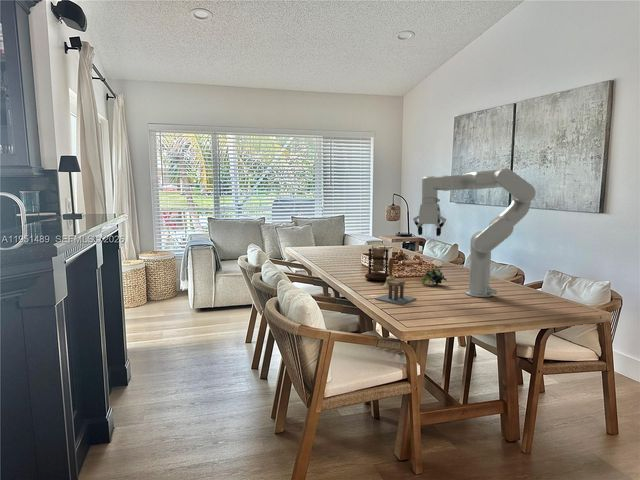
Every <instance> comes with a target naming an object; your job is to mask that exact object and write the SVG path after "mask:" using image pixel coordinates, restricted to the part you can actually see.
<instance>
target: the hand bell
mask: <svg viewBox="0 0 640 480" xmlns="http://www.w3.org/2000/svg"><path fill="white" fill-rule="evenodd" d="M393 268H394V260H393V257H389V258H388V269H389V271H388V274H389V277H387V278H386V281H385V283H384V284H383V285H382V289H385V290H389V285H388V282H389V281H393V280H396V277H394V276H393ZM394 287H395V286H392V289H393V290H394Z"/></svg>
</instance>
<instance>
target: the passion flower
mask: <svg viewBox="0 0 640 480" xmlns="http://www.w3.org/2000/svg"><path fill="white" fill-rule="evenodd" d="M443 280H444V281H447V280H448V279H447V278H446V277H445V275H444V272H441V269H438V268H434V267H433V268H432V269H430V270H428V269H426V270H425V274H424V275H423V276H422V278H421V280H420V283H422V284H425V282H426V281H427V282H428V284H429V285H431V287H433V286H434V285H435V284H436V285H438V284H442V281H443ZM430 283H431V284H430Z"/></svg>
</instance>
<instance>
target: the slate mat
mask: <svg viewBox="0 0 640 480" xmlns="http://www.w3.org/2000/svg"><path fill="white" fill-rule="evenodd" d="M374 300H376V301H381V302H385V303H390V304H394V305H398V306H402V305H405V304H408V303H411V302H413V301H415V300H417V297H413V296H409V295H403V298H400V294H398V300H394V293H393V292H392V299H389V293H386V294H384V295H382V296H377V297H375V298H374Z"/></svg>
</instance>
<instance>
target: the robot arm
mask: <svg viewBox="0 0 640 480" xmlns="http://www.w3.org/2000/svg"><path fill="white" fill-rule="evenodd" d="M496 188H502V189H504V190H505V191H506V192H508V193H509V194H510V195H511V198H512V199H511V200H512V201H511V203H510V205H509V206H508V207H506V208H505V209H504V210H503V211H502V212H500V213H499V214H498V215H497V216H495V217H494V218H492V220H491V221H490V222H489V225H488V226H487V227H485V229H484V230H482V231H481V230H479V231H476V232H475V233H473V235H472V236H471V237H470V245H469V246H470V248H469V249H470V251H469V252H470V253H469V254H470V256H469V258H470V259H469V276H468V277H469V279H468V289H466V290H465V291H464V292H465V295H467V296H470V297H476V298H490V297H492V296H493V295H498V289H495V288H492V286H491V285H490V279H491V277H490V276H491V264H492V251H493V250H495V248H497V247H498V246H500V245H501V243H503V242H504V241H506V239H508V238H509V237H510V236H511V235H512V234H513V232H514V229H515V227H514V226H516V225H517V224H518V223H519V222H520V221H521V220H523V218H525V216H526V215H527V214H528V213H529V211H530V208H531V202H532V201H533V199H534V198H535V196H536V192H537V191H536V189H535V187H534V185H532V184H531V183H530V182H528V181H527V180H525V179H524V178H523V177H521V176H520V175H519V174H517V173H516V172H515V171H513V170H511V169H510V168H501V169H492V170H491V169H490V170H480V171H479V170H478V171H472V172H469V173H468V172H467V173H465V174H464V173H462V174H455V175H441V176H440V175H439V176H436V175H435V176H434V175H433V176H432V175H431V176H423V177H422V180H421V204H420V206H419V212H418V215H416V216H415V217H413V219H412V220H413V222H414V224H415V225H416V227H417V234H418V236H422V235H423V227H422V226H423V225H424V224H425V225H435V226H436V229H435V230H436V236H437V237H440V236H441V235H442V228H443V226H445V223H446V221H447V218H445V217H443V216H442V215H441V207H440V203H439V202H441V199H440V198H438V191H443V192H447V191H448V192H449V191H459V190H483V189H496Z"/></svg>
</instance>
